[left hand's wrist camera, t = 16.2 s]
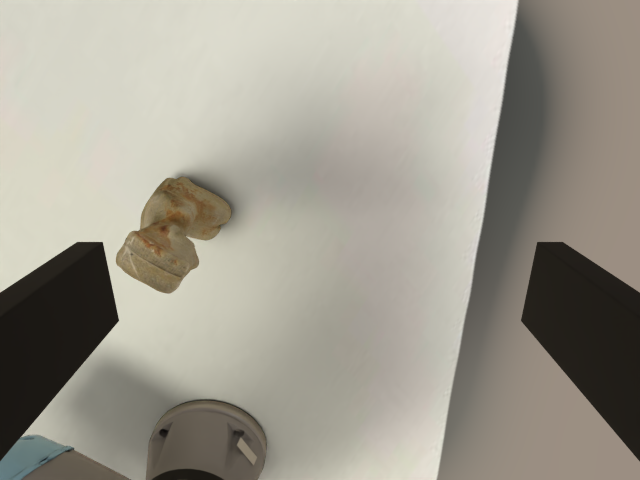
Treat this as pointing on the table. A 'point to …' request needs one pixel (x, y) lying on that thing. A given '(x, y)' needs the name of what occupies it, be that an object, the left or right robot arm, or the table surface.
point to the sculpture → (171, 233)
